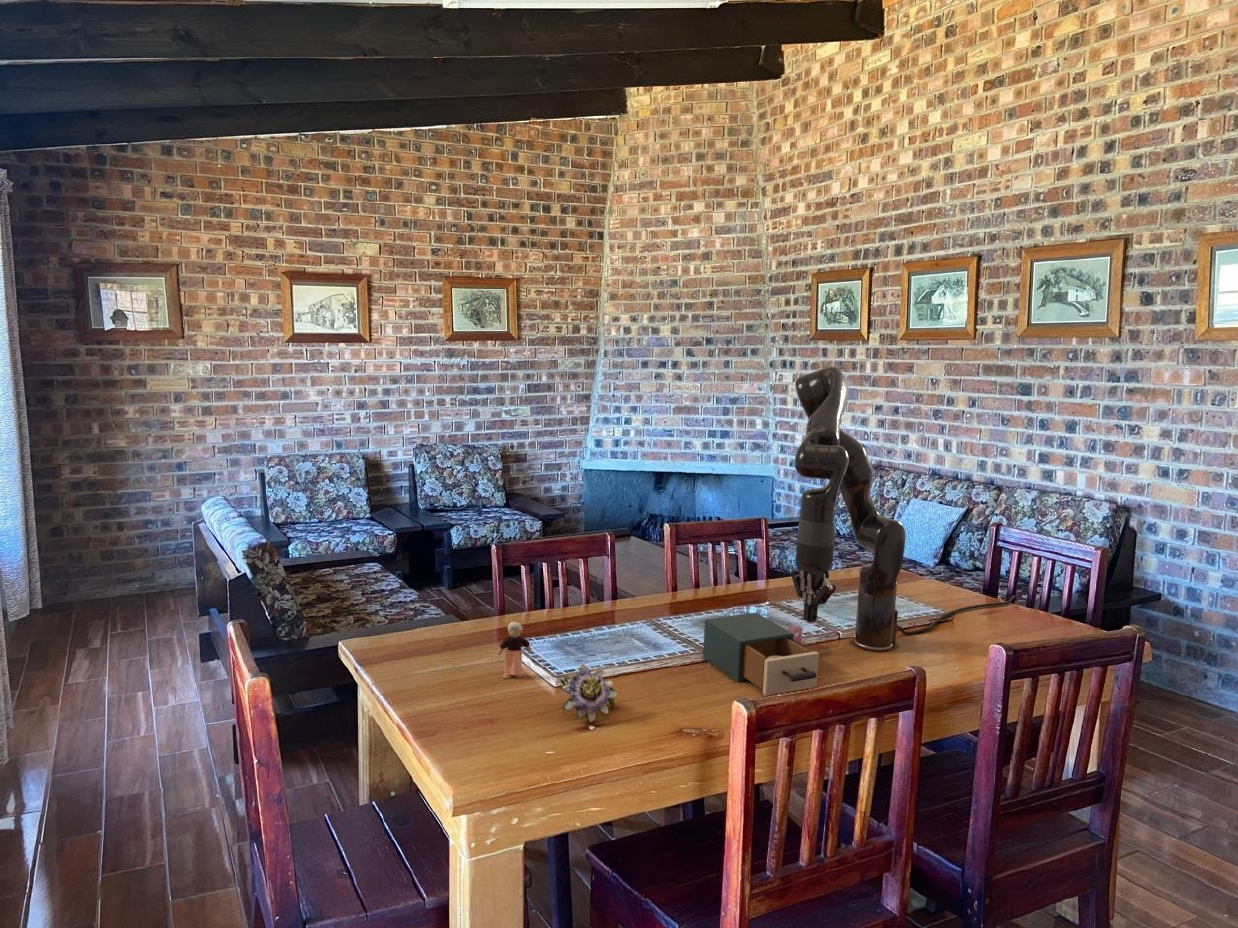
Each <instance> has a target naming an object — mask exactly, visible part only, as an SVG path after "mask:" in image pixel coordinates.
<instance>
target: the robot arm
mask: <svg viewBox="0 0 1238 928" xmlns="http://www.w3.org/2000/svg"><path fill="white" fill-rule="evenodd" d="M795 391H796V395H797V397H798V401H799V402H800V406H801V407H802V409H803V410H804V413H805V415H806V417H807V418H808V420H807V424H806V426H805V438H804V439H803V441H802V442H801V444H799V447H798V449H796V450H797V451H796V453H795V456H794V469H795V471H796V472H797V474H798V475H799V476H800V477H803V478H806V479H819V480H828V481H827V483H826V484H825V485H824V486H822V487H816V488H810V489H806V490H804V491H803V492H802V493H801V497H800V510H799V522H798V526H797V535H796V549H795V560H796V561H797V563H798V566H797V569H795V570H791V571H790V576H791V579H792V582H793V585H794V588H795V592H796V594H797V597H798V598H800V599H802V603H803V620H804V621H806V622H808V623H815V622H816V621H817V619H818V612H819V611H818V609H819V605H825V604H826V603H827V602H828V601H829V599H830V598H831V597H832V595H833V594H834V593H835V591H836V590H837V586H836V584H832V583H831V582H830V579H829V578H830V572H829V567H830V566H831V565H832V564H833V563H834V553H835V552H834V551H835V539H836V509H837V500H838V495H839V492H840V494H841V496H842V499H843V502H844V504H845V506H846V509H847V511H848V514H849V519H850V522H851V524H852V528H853V533H854V535H855V538H856V541H857V542H858V544H859V545H860V546H861V547H862V548H863V549H865V550H867V551H870V552H872V553H874V554H873V559H872V563H866V564H863V565H861V567H860V568H859V576H858V588H857V590H858V591H857V604H856V615H855V627H854V630H853V636H854V638H853V643H854V645H855V646H857V647H859V648H861V649H864V650H868V651H875V652H884V651H890V650H891V649H892V648H893V647H895V646H896V639H897V633H898V630H899V631H900V632H901V633H902V634H903V635H915V634H919V633H923V632H927V631H928V630H929V631H930V630H931V629H932V628H933V627H934V626H935V625H937V623H940V622H941V621H942V620H944V619H945V618H947V617H949V616H951V615H954V614H956V613H959V612H964V611H967V610H973V609H978V608H987V607H994V606H1003V605H1008V604H1011V603H1012V601H1014V600H1015V601H1017V600H1018V597H1016V595H1014V594H1013V595H1012V596H1010V598H1009V599H1008V600H1006V601H1001V602H990V603H983V604H975V605H970V606H964V607H960V608H957V609H953V610H951V611H948V612H946V613H945V614H943V615H941V616H939V617H937V618H936V619H935V620H934V621H932V622H931V623H930V624H929V625H928V626H926V627H923V628H920V629H917V630H911V631H910V630H908V631H907V630H904V628H903V627H902V626H900V625H898V615H899V611H898V609H897V608H896V603H897V593H898V580H899V575H900V573H901V571H902V567H903V563H904V562H903V561H904V554H905V548H906V540H907V539H906V538H907V537H906V529H905V527H904V524H903V523H902V522H900V521H898V520H896V519H894V518H890V517H886V516H883V515H881V514H880V513H879V512H878V510H877V508H876V506H875V503H874V501H873V498H872V496H871V490H872V486H873V479H874V470H873V467H872V464H871V461H870V459H869V456H868V453H867V451H866V449H865V447H864V446H863V444H862V443H861V442H860V441H858V440H857V439H856V438H855V437H853V436H852V435H850V434H849V433H847V432H845V431H844V430H843V429H841V428H840V427H841V421H842V418H843V415H844V413H845V410H846V406H847V403H848V399H849V387H848V383H847V381H846V378H845V376H844V373H843V371H842V370H841V369H840V368H839V367H837V366H828V367H824V368H822V369H818V370H815V371H813V372H810V373H805V374H804V375H801V376H799V377H797V378H796V380H795Z"/></svg>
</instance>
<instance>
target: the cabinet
mask: <svg viewBox="0 0 1238 928" xmlns="http://www.w3.org/2000/svg"><path fill="white" fill-rule="evenodd" d="M782 638H788V639H790V640H792V641H793V638H794V634H793V633H792V632H790V631H788V629H786V627H785V628H784V627H783V626H781V625H779V624H777V623H776V622H775V621H772V620H770V619H768V618H767V617H765V616H763V615H761V613H760V614H759V613H757V612H750V613H744V614H736V615H735V614H734V615H726V616H719V617H711V618H705V619H704V630H703V648H702V649H703V650H702V651H703V653H702V658H704V659H705V660H706V661H708V662H709V663H710V664H712V665H713V666H714V667H715V668H718V669H719V670H720V671H722V673H724V674H726V675H727V676H728V677H730V678H731V679H732V680H734V681H736V682H737V683H740V682H745V681H749V680H748V679H746V678H745V677H743V676H742V675H741V664H742V646H743V644H748V643H755V642H761V641H768V640H775V639H782Z"/></svg>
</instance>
